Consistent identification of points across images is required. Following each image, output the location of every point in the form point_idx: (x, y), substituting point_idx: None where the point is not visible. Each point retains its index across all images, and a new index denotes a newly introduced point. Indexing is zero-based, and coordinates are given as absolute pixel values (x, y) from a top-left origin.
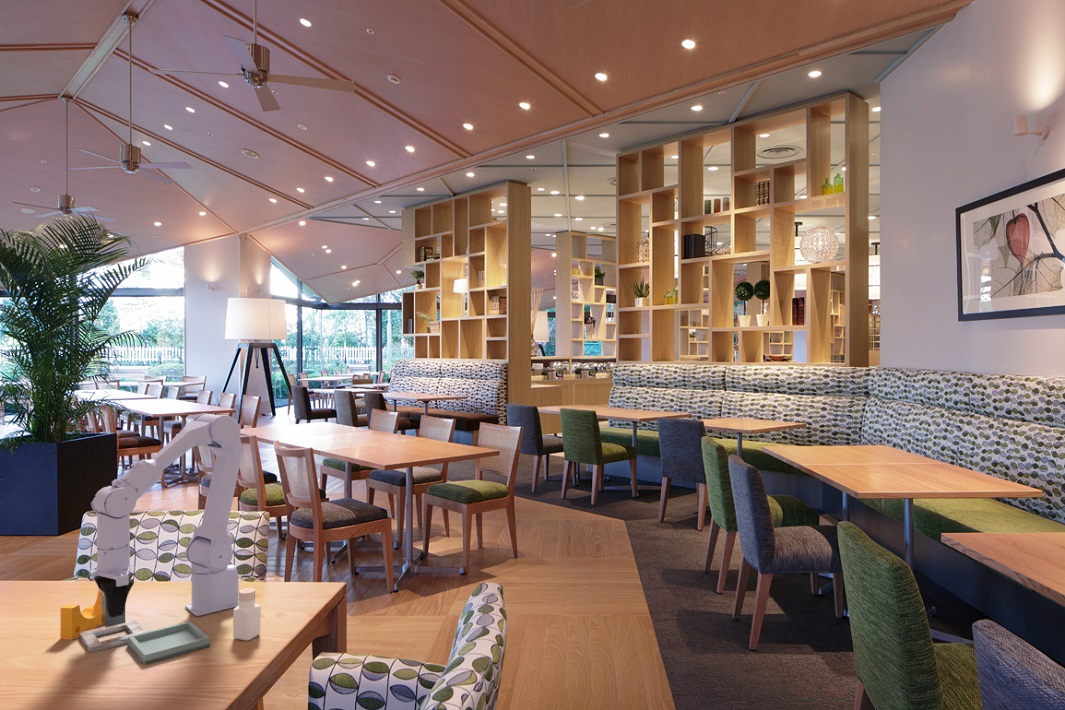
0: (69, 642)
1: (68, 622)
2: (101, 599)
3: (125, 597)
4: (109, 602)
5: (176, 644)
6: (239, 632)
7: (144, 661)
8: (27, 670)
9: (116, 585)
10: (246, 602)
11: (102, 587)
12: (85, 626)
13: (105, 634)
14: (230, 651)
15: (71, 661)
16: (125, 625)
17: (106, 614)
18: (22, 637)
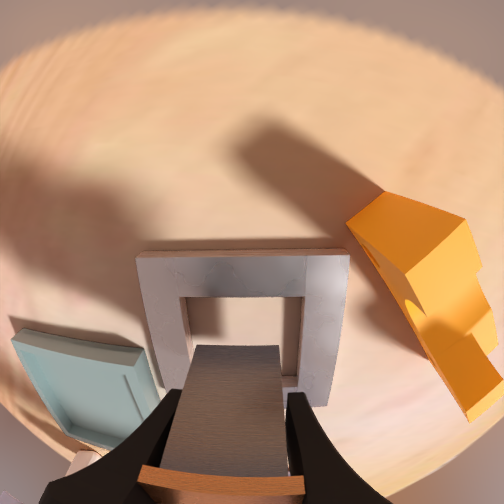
0: (317, 209)
1: (386, 230)
2: (284, 435)
3: None
4: (126, 441)
5: (82, 404)
6: (80, 458)
7: (20, 331)
8: (124, 62)
9: (11, 498)
10: None
11: (49, 498)
12: (389, 285)
13: (301, 325)
14: (49, 423)
15: (106, 188)
16: (298, 384)
17: (184, 388)
18: (470, 104)
